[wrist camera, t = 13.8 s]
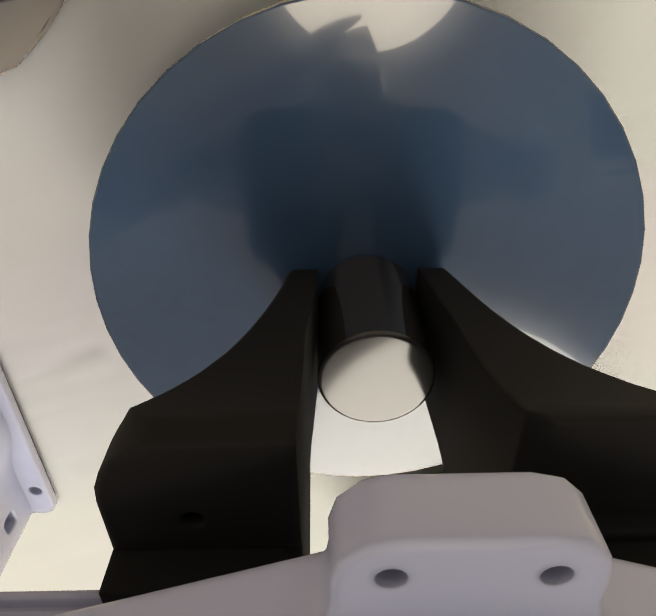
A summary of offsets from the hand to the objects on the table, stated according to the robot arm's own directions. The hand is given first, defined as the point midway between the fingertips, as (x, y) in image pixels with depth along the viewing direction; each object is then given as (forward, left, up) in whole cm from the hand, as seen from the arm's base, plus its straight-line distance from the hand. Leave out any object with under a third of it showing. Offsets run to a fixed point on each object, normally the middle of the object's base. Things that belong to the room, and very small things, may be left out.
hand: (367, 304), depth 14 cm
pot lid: (0, 0, -1) cm, 1 cm away
